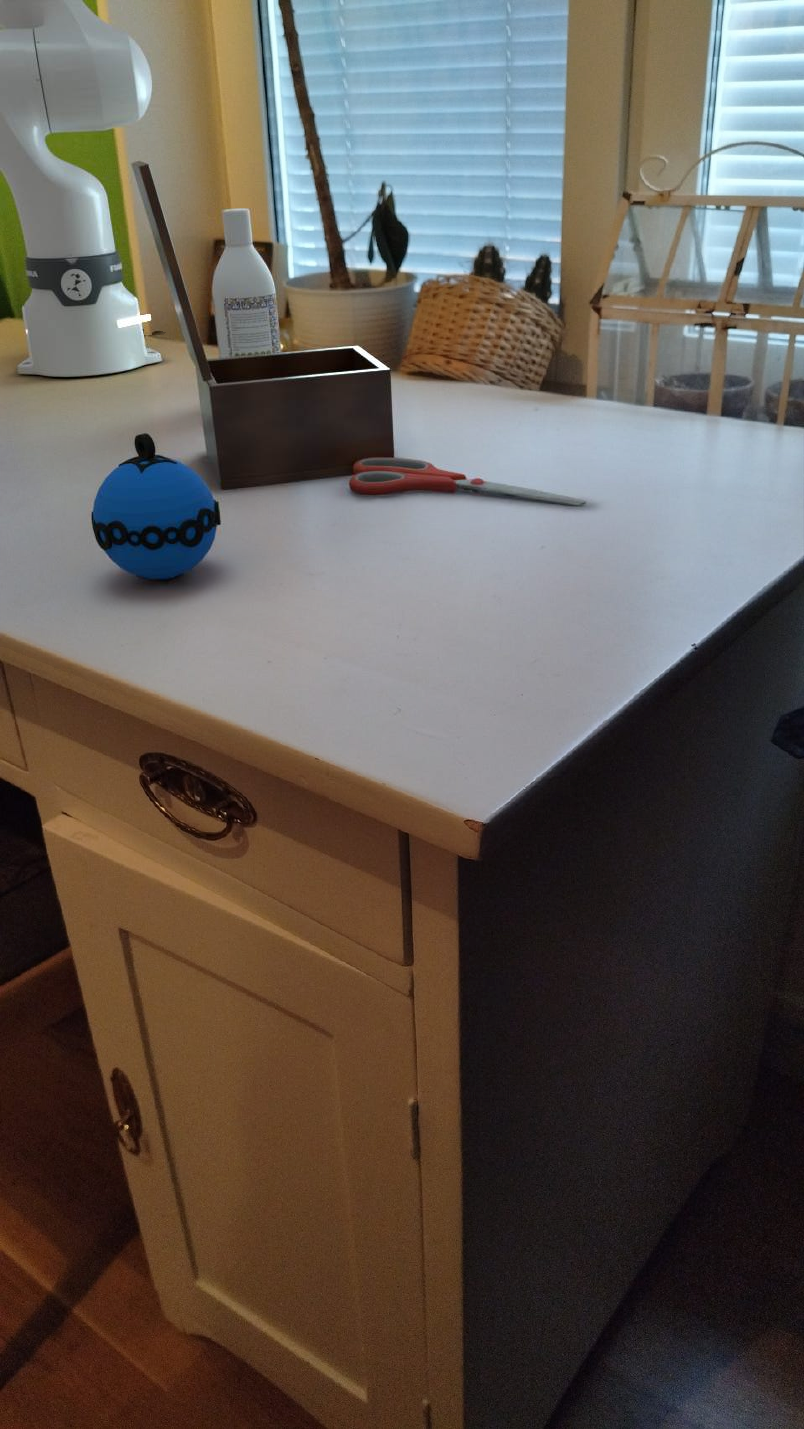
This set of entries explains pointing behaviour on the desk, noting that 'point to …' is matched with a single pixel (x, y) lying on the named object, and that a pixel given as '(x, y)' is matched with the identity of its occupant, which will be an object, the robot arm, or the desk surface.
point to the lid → (171, 267)
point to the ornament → (154, 515)
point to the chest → (295, 415)
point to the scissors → (432, 481)
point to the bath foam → (243, 294)
